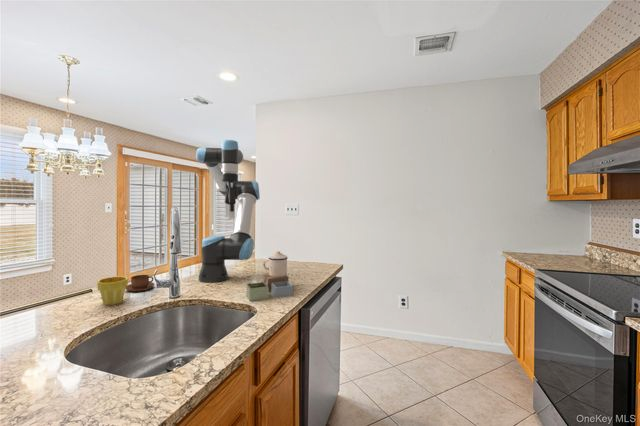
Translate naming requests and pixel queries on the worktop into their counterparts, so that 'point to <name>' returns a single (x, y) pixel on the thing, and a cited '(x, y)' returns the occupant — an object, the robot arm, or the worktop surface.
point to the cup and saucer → (140, 283)
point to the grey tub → (282, 289)
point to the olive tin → (257, 291)
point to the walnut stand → (273, 280)
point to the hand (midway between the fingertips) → (229, 217)
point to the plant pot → (112, 289)
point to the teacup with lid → (277, 265)
